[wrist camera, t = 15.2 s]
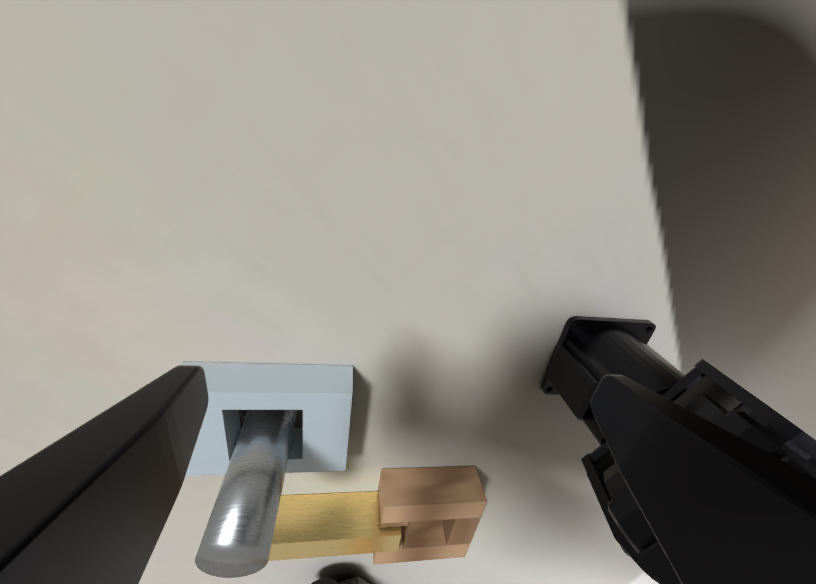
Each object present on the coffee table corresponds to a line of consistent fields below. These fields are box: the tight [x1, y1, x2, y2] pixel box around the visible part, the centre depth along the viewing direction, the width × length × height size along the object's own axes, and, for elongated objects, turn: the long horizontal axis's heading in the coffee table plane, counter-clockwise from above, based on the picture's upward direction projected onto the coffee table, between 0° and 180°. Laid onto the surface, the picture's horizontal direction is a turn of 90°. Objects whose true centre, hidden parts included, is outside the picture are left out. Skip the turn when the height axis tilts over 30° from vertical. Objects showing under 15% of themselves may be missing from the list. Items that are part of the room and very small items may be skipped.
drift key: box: [268, 491, 401, 561], centre depth 27 cm, size 10×2×4 cm, turn 82°
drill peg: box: [195, 410, 297, 578], centre depth 19 cm, size 3×3×9 cm
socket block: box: [373, 466, 487, 564], centre depth 29 cm, size 8×8×3 cm
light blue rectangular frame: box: [181, 362, 353, 476], centre depth 22 cm, size 10×7×2 cm
